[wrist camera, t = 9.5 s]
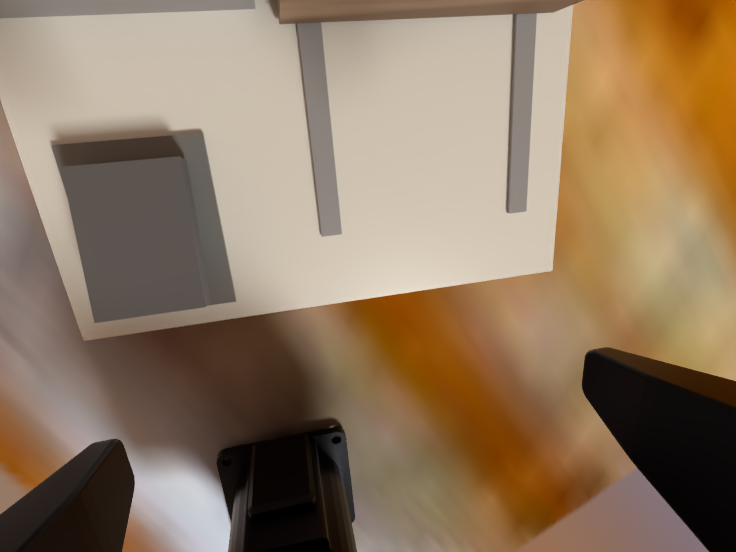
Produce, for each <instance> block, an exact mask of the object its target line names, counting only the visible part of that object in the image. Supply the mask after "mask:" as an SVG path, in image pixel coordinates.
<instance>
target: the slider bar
mask: <svg viewBox="0 0 736 552" xmlns="http://www.w3.org/2000/svg"><path fill="white" fill-rule="evenodd" d="M581 1H583V0H276V2H277V10H278V18H279V24H298V23H321V22H345V21H368V20H392V19H416V18H439V17H463V16H487V15H510V14H534V13H554V12H556V11H559V10H561V9H564V8H566V7H568V6H571V5H573V4H576V3H578V2H581Z"/></svg>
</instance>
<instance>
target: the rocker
mask: <svg viewBox="0 0 736 552" xmlns="http://www.w3.org/2000/svg"><path fill="white" fill-rule="evenodd" d="M61 170H62V175H63V179H64V184H65V189H66V193H67V198H68V203H69V207H70V212H71V217H72V221H73V226H74V231H75V235H76V240H77V245H78V249H79V254H80V259H81V263H82V268H83V273H84V277H85V282H86V287H87V291H88V296H89V301H90V305H91V310H92V315H93V319H94V323H100V322H107V321H113V320H120V319H127V318H134V317H141V316H148V315H155V314H162V313H169V312H176V311H183V310H190V309H197V308H203V307H206V306H207V305H208V304H209V303H210V302H211V299H210V293H209V287H208V281H207V275H206V270H205V264H204V258H203V252H202V246H201V241H200V235H199V229H198V223H197V217H196V212H195V206H194V200H193V194H192V188H191V183H190V177H189V171H188V165H187V161H186V160H185V159H183V158H181V157H180V156H178V157H167V158H156V159H144V160H133V161H122V162H111V163H99V164H88V165H77V166H65V167H61Z"/></svg>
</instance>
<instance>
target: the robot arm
mask: <svg viewBox="0 0 736 552" xmlns="http://www.w3.org/2000/svg"><path fill="white" fill-rule="evenodd" d="M582 389H583V392H584V394H585V396H586V398H587V399H588V401H589V402H590V404H591V405H592V406H593V408H594V409H595V411H596V412H597V414H598V415H599V416H600V418H601V419H602V421H603V422H604V423H605V425H606V426H607V428H608V429H609V430H610V432H611V433H612V435H613V436H614V437H615V439H616V440H617V442H618V443H619V444H620V446H621V447H622V449H623V450H624V451H625V453H626V454H627V455H628V457H629V458H630V459H631V461H632V462H633V463H634V464H635V466H636V467H637V468H638V469H639V470H640V471H641V473H642V474H643V475H644V476H645V477H646V479H647V480H648V481H649V482H650V483H651V484H652V486H653V487H654V488H655V489H656V490H657V491H658V493H659V494H660V495H661V496H662V497H663V498H664V500H665V501H666V502H667V503H668V504H669V506H670V507H671V508H672V509H673V510H674V511H675V513H676V514H677V515H678V516H679V517H680V518H681V520H682V521H683V522H684V523H685V524H686V525H687V526H688V528H689V529H690V530H691V531H692V532H693V534H694V535H695V536H696V537H697V538H698V539H699V541H700V542H701V543H702V544H703V545H704V546H705V548H706V549H707V550H708V551H709V552H736V381H733V380H729V379H725V378H722V377H718V376H714V375H710V374H707V373H703V372H699V371H695V370H692V369H688V368H684V367H680V366H677V365H673V364H669V363H665V362H662V361H658V360H654V359H650V358H647V357H643V356H639V355H635V354H632V353H628V352H624V351H620V350H617V349H613V348H609V347H604V348H599V349H593V350H590V351H588V352H587V354H586V355H585V361H584V370H583V378H582ZM335 436H339V438H337V439H333V437H335ZM225 458H230V459H231V460H229V461H226V460H224V459H225ZM217 467H218V471H219V475H220V479H221V483H222V487H223V491H224V495H225V499H226V503H227V507H228V511H229V515H230V519H231V531H230V540H229V549H228V552H357V549H356V544H355V538H354V533H353V528H352V522H353V521H354V520H355V512H354V503H353V495H352V486H351V477H350V469H349V460H348V451H347V442H346V436H345V432H344V430H343V429H342V428H339V427H333V428H328V429H323V430H318V431H313V432H308V433H303V434H298V435H293V436H288V437H282V438H277V439H272V440H267V441H262V442H257V443H252V444H247V445H242V446H237V447H232V448H227V449H224V450H222V451H221V452H219V454H218V457H217ZM134 485H135V482H134V474H133V471H132V468H131V465H130V462H129V460H128V457H127V454H126V451H125V448H124V445H123V443H122V442H121V441H120V440H118V439H111V440H106V441H101V442H95V443H93V444H91V445H89V446H88V447H87V448H86V449H84V450H83V451H82V452H80V453H79V454H78V455H77V456H75V457H74V458H73V459H71V460H70V461H69V462H68V463H66V464H65V465H64V466H62V467H61V468H60V469H58V470H57V471H56V472H55V473H53V474H52V475H51V476H49V477H48V478H47V479H46V480H44V481H43V482H42V483H40V484H39V485H38V486H37V487H35V488H34V489H33V490H31V491H30V492H29V493H28V494H26V495H25V496H24V497H22V498H21V499H20V500H19V501H17V502H16V503H15V504H13V505H12V506H11V507H9V508H8V509H7V510H6V511H4V512H3V513H2V514H0V552H122V548H123V543H124V538H125V533H126V528H127V523H128V518H129V513H130V508H131V503H132V498H133V493H134Z"/></svg>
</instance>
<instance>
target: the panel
mask: <svg viewBox="0 0 736 552" xmlns="http://www.w3.org/2000/svg"><path fill="white" fill-rule="evenodd" d="M572 12H573V5H571V6H568V7H566V8H564V9H561V10H559V11H556V12H554V13H534V14H510V15H487V16H463V17H439V18H416V19H392V20H368V21H345V22H321V23H298V24H279V18H278V10H277V2H276V0H0V100H1V103H2V106H3V109H4V112H5V115H6V117H7V120H8V123H9V126H10V129H11V132H12V135H13V138H14V141H15V144H16V147H17V149H18V152H19V155H20V158H21V161H22V164H23V167H24V170H25V173H26V176H27V179H28V181H29V184H30V187H31V190H32V193H33V196H34V199H35V202H36V205H37V208H38V211H39V213H40V216H41V219H42V222H43V225H44V228H45V231H46V234H47V237H48V240H49V242H50V245H51V248H52V251H53V254H54V257H55V260H56V263H57V266H58V269H59V272H60V274H61V277H62V280H63V283H64V286H65V289H66V292H67V295H68V298H69V301H70V304H71V306H72V309H73V312H74V315H75V318H76V321H77V324H78V327H79V330H80V333H81V336H82V338H83V341H88V340H94V339H101V338H108V337H114V336H121V335H128V334H134V333H141V332H148V331H154V330H161V329H168V328H174V327H181V326H188V325H194V324H201V323H208V322H214V321H221V320H228V319H234V318H241V317H248V316H254V315H261V314H268V313H274V312H281V311H288V310H294V309H301V308H308V307H314V306H321V305H327V304H334V303H341V302H347V301H354V300H361V299H367V298H374V297H381V296H387V295H394V294H401V293H407V292H414V291H421V290H427V289H434V288H441V287H447V286H454V285H461V284H467V283H474V282H481V281H487V280H494V279H501V278H507V277H514V276H521V275H527V274H534V273H541V272H547V271H552V269H553V256H554V243H555V230H556V217H557V204H558V192H559V179H560V166H561V153H562V140H563V127H564V115H565V102H566V89H567V76H568V63H569V50H570V38H571V25H572ZM178 156H180V157H181V158H183V159H185V160H186V161H187V165H188V171H189V177H190V183H191V188H192V194H193V200H194V206H195V212H196V217H197V223H198V229H199V235H200V241H201V246H202V252H203V258H204V264H205V270H206V275H207V281H208V287H209V293H210V299H211V302H210V303H209V304H208V305H207V306H206V307H203V308H197V309H190V310H183V311H176V312H169V313H162V314H155V315H148V316H141V317H134V318H127V319H120V320H113V321H107V322H100V323H94V319H93V315H92V310H91V305H90V301H89V296H88V291H87V287H86V282H85V277H84V273H83V268H82V263H81V259H80V254H79V249H78V245H77V240H76V235H75V231H74V226H73V221H72V217H71V212H70V207H69V203H68V198H67V193H66V189H65V184H64V179H63V175H62V170H61V167H65V166H77V165H88V164H99V163H111V162H122V161H133V160H144V159H156V158H167V157H178Z"/></svg>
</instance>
